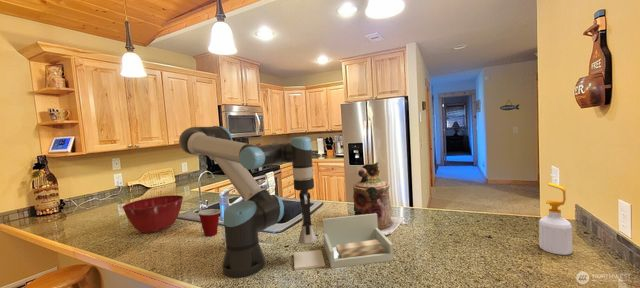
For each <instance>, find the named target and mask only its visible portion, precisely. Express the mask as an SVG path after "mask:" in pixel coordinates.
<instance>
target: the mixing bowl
mask: <svg viewBox="0 0 640 288" xmlns="http://www.w3.org/2000/svg"><path fill="white" fill-rule="evenodd" d="M183 199H184V196H182V195H180V194H179V195H177V194H175V195H174V194H172V195H170V194H169V195H160V196H154V197H148V198H143V199H138V200H135V201H132V202H129V203H126V204H124V205H123V206H122V207H121V208H122V209H123V211H124V213H125V216H126V217H127V220H128V221H129V223H130V224H131V226H133V228H134V229H135V230H137V231H138V232H142V233H144V234H151V233H157V232H161V231H164V230H167V229H169V228H170V227H171V226H172V225H173V224H174V223H176V221H177V219H178V217H179V214H180V211H181V208H182V204H183Z"/></svg>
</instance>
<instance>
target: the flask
mask: <svg viewBox="0 0 640 288" xmlns="http://www.w3.org/2000/svg"><path fill="white" fill-rule="evenodd" d="M301 218H302V219H303V215H302V214H301ZM303 224H304V220H303V222H302V225H303ZM302 225H301V230H300V233H299V234H300V235H299V238H298V244H301V245H312V244H314V243H316V242H317V241H318V239H317V236H316V234H315V231H314V230H313V226H312V225H311V233H312V243H305V241H304V227H303V226H302Z"/></svg>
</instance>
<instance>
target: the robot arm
mask: <svg viewBox="0 0 640 288" xmlns="http://www.w3.org/2000/svg"><path fill="white" fill-rule="evenodd" d="M178 144H179V147H180V149H181V150H182V151H183V152H185V153H187V154H188V155H193V156H202V155H204V156H207V157H208V158H209V159H210V160H212V161H215V162H216V163H217V165H218V166H219V167H220V169H221V170H222V172H223V173H224V175H225V176H226V177H227V178H228V180H229V181H230V183H231V185H232V186H233V187H234V188H235V190H236V191H237V193H238V194H239V196H240V197H241V198H242V200H241V201H238V202H234V203H232V204H230V205H229V206H227V207H226V208H225V209H224V210H223V226H224V227H223V228H224V236H225V248H226V249H225V254H224V257H223V261H222V273H223V275H225V276H227V277H229V278H244V277H248V276H251V275H254V274H256V273H258V272H259V271H261V270H262V269H263V268H264V267H265V265H266V259H265V258H266V257H265V255H264V253H263V250H262V248H261V245H260V242H259V233H260V232H261V231H263V230H265V229H267V228H270V227H271V226H274V225H276V224H277V223H278V222H280V221H281V220H282V218H283V216H284V214H285V205H284V202H283V200H282V198H280V196H278V195H276V194H270V192H269V190H268V189H266V188H262V187H261V186H260V184H259V183H258V182H257V181H256V180H255V178H254V176H252V174H251V173H250V171H249V170H256V169H257V170H258V169H259V168H263V167H267V166H271V165H275V164H276V165H277V164H283V163H290V164H291V166H292V178H293V189H294V190H295V191H300V192H299V193H298V197H299V201H300V202H299V204H300V207H301V216H302V215H303V218H302V224H301V227H302V226H303V227H304V241H305V243H312V233H311V226H312V218H311V216H312V215H311V207H310V206H311V193H310V192H309V190H313V189H314V188H315V179H314V172H315V168H314V167H313V153H312V152H313V151H312V150H313V147H312V140H311V138H310V137H309V136H299V137H298V136H297V137H296V136H295V137H291V138H290V142H283V143H282V142H281V143H279V142H274V143H272V142H271V143H268V144H263V145H256V144H255V145H254V144H250V143H246V142H240V141H235V140H233V135H232V133H231V131H230V130H229V129H228V128H226V127H225V126H218V125H213V126H191V127H188V128H186V129H185V130H183V131H182V132H181V134H180V136H179V137H178ZM303 220H304V224H303Z"/></svg>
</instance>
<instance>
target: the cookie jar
mask: <svg viewBox="0 0 640 288" xmlns="http://www.w3.org/2000/svg"><path fill="white" fill-rule="evenodd" d="M380 172H381V171H380V170H379V161H376V162H375V163H365V164H364V165H362V167H361V168H360V169H359V170H358V173H357V175H358V176H359V177H361V179H360V181H357V182H356V183H355V184H353V187H352V188H353V196H352V198H353V211H354V215H353V216H355V215H365V214H375V213H376V214H377V222H378V229H379V230H380V231H381V232H382V233H383V234H384V235H385V236H388V235H392V233H393V232H395V230H396V229H398V228H399V226H400V225H401V224H402V223H403V222H404V220H405V217H404V216H403V217H402V216H400V217H399V216H392V215H393V211H392V204H391V198H390V192H389V190H390V183H389V182H387V181H384V180H383V181H382V180H381V179H380V178H379V175H380Z"/></svg>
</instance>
